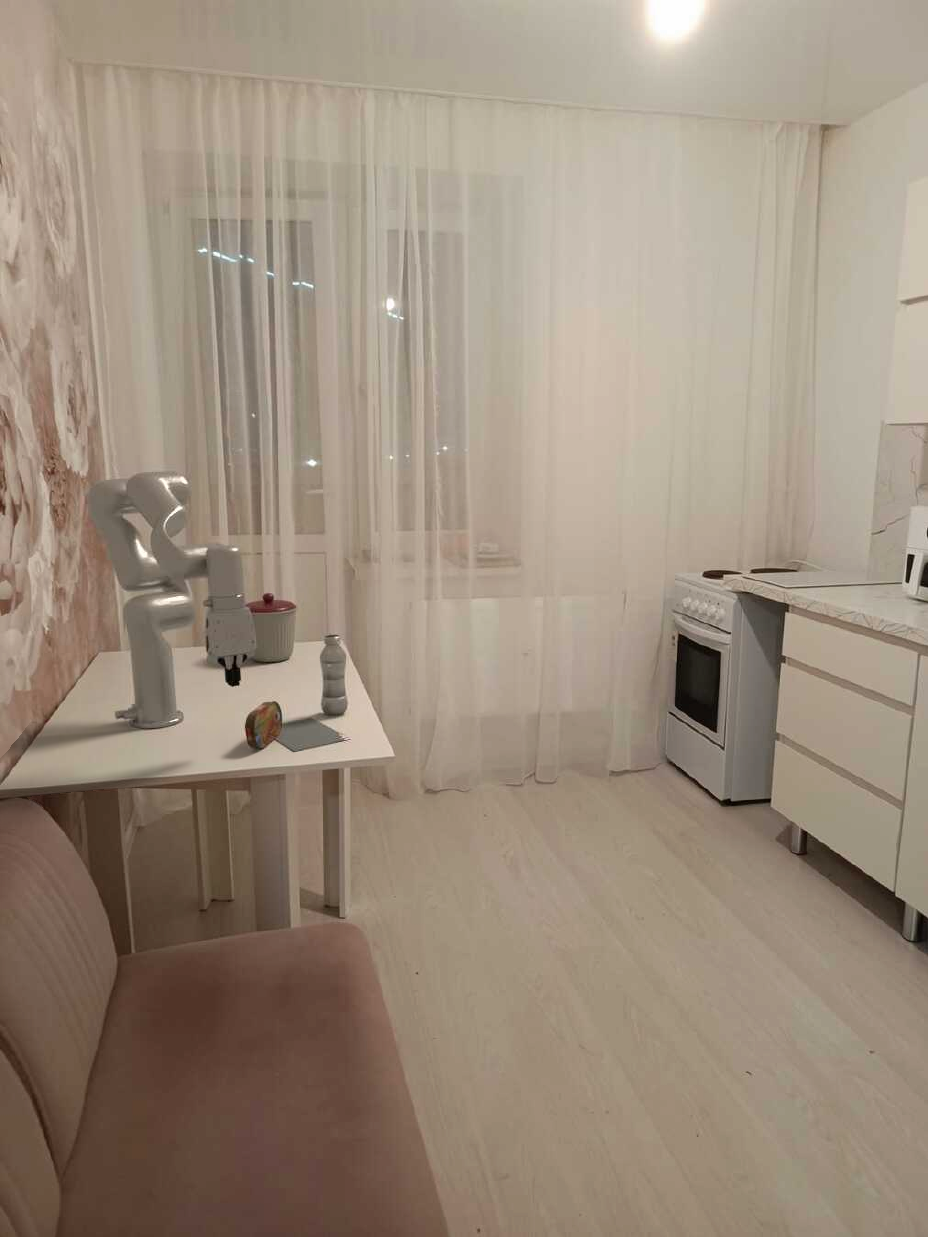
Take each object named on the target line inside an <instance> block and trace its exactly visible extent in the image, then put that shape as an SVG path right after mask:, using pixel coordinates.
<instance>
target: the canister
mask: <svg viewBox="0 0 928 1237" xmlns="http://www.w3.org/2000/svg"><path fill="white" fill-rule="evenodd" d="M245 606H246V607H249V608H250V611H251V615H252V619H253V624H254V630H255V636H256V650H255V653H256V654H255V655H254V656H252V657H250V658H251V659H252V660H254V661H255V662H260V663H277V662H281V661H286V660H288V659H290V658H291V656H293V653H294V649H295V648H294V646H295V637H296V636H295V634H296V619H297V610H298V609H299V606H298V605H297V604H295V603H294V602H292V601H290V600H289V601H288V600H283V599H275V596H274V594H273V593H271V592H266V593H264V594H263V595H262V600H256V601H251V602H247V603H245Z"/></svg>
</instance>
